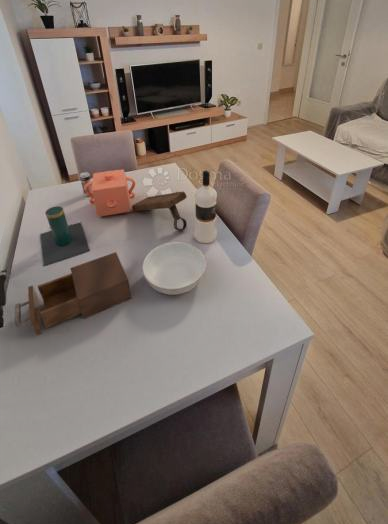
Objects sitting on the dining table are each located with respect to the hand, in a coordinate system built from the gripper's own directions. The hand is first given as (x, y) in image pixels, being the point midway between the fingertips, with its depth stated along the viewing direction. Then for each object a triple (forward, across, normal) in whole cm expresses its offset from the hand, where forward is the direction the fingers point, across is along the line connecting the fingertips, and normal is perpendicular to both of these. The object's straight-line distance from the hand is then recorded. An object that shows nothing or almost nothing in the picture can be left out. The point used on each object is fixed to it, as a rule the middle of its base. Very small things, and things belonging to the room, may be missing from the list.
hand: (0, 324), depth 76 cm
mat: (+4, +19, +32) cm, 38 cm away
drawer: (+3, +13, 0) cm, 13 cm away
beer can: (+4, +35, +66) cm, 74 cm away
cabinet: (+4, +27, 0) cm, 28 cm away
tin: (+3, +19, +32) cm, 38 cm away
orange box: (+4, +42, +44) cm, 61 cm away
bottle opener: (+4, +59, +29) cm, 66 cm away
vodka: (+4, +70, +8) cm, 71 cm away
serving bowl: (+4, +50, -5) cm, 51 cm away
